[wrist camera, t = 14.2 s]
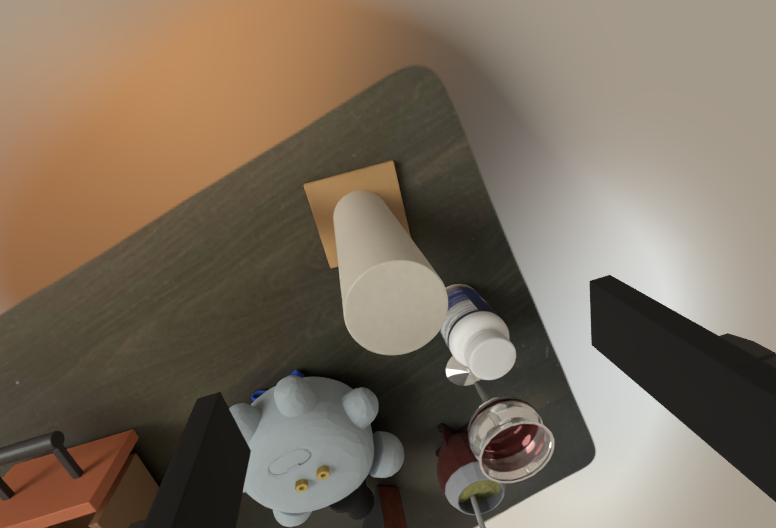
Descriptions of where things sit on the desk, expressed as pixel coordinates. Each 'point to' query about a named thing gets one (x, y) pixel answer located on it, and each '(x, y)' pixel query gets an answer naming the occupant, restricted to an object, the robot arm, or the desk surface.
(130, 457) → the drawer
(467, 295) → the pill bottle
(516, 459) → the wineglass
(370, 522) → the radio
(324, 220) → the coaster
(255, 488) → the figurine
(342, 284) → the canister
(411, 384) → the desk surface
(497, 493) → the mate gourd
